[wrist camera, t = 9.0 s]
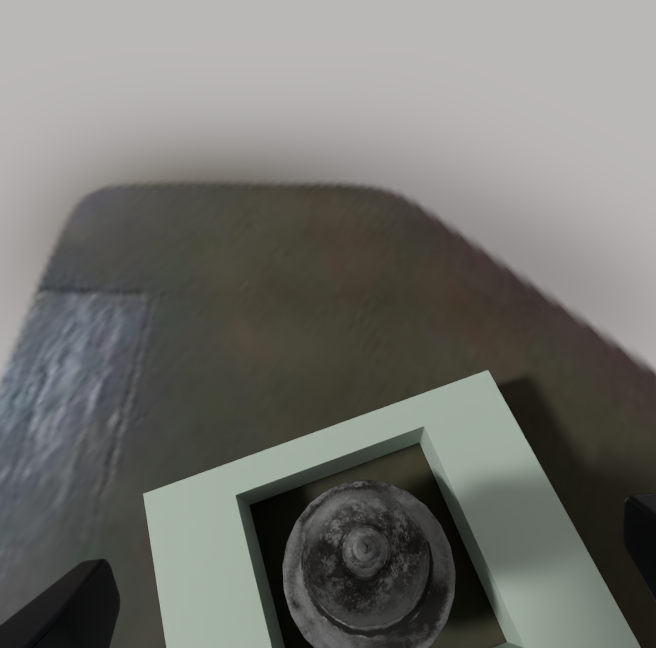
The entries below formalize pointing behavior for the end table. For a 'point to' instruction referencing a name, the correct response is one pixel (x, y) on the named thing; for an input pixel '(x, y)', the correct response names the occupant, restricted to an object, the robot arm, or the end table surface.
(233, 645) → the socket board
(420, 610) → the grey stone chess bishop
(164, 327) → the end table surface
